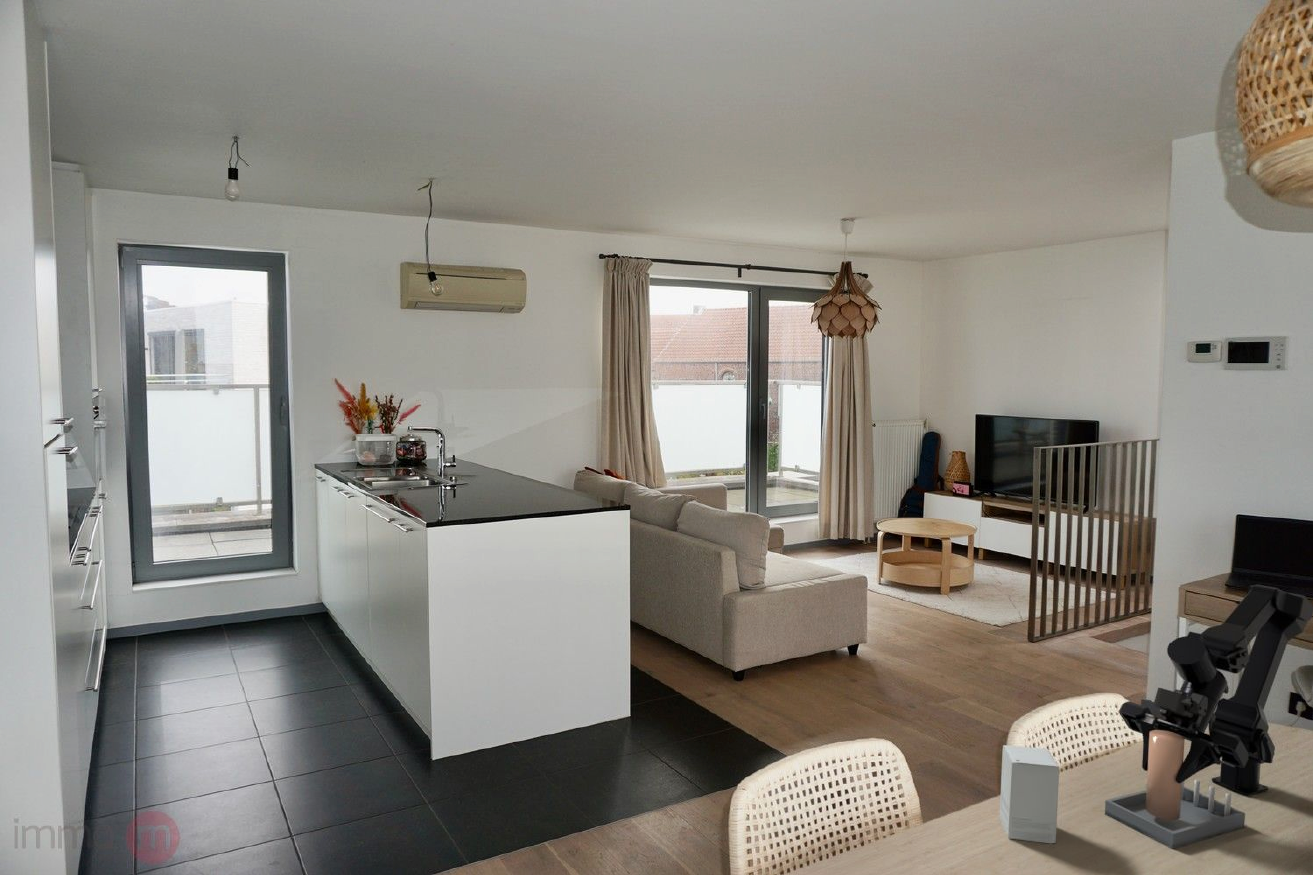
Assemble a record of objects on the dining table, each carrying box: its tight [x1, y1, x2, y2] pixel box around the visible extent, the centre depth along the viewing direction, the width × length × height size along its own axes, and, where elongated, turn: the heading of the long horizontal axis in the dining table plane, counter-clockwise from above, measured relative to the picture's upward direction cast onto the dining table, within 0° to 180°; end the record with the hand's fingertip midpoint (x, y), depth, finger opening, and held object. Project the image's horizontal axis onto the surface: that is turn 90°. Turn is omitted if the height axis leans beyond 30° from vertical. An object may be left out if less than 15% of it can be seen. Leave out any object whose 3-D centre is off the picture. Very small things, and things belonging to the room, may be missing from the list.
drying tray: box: [1104, 779, 1246, 850], centre depth 145 cm, size 18×12×5 cm, turn 114°
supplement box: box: [999, 744, 1060, 844], centre depth 141 cm, size 7×7×13 cm
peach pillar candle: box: [1146, 730, 1186, 820], centre depth 144 cm, size 5×5×13 cm
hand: (1160, 775), depth 143 cm, fingers closed on peach pillar candle, 5 cm apart
